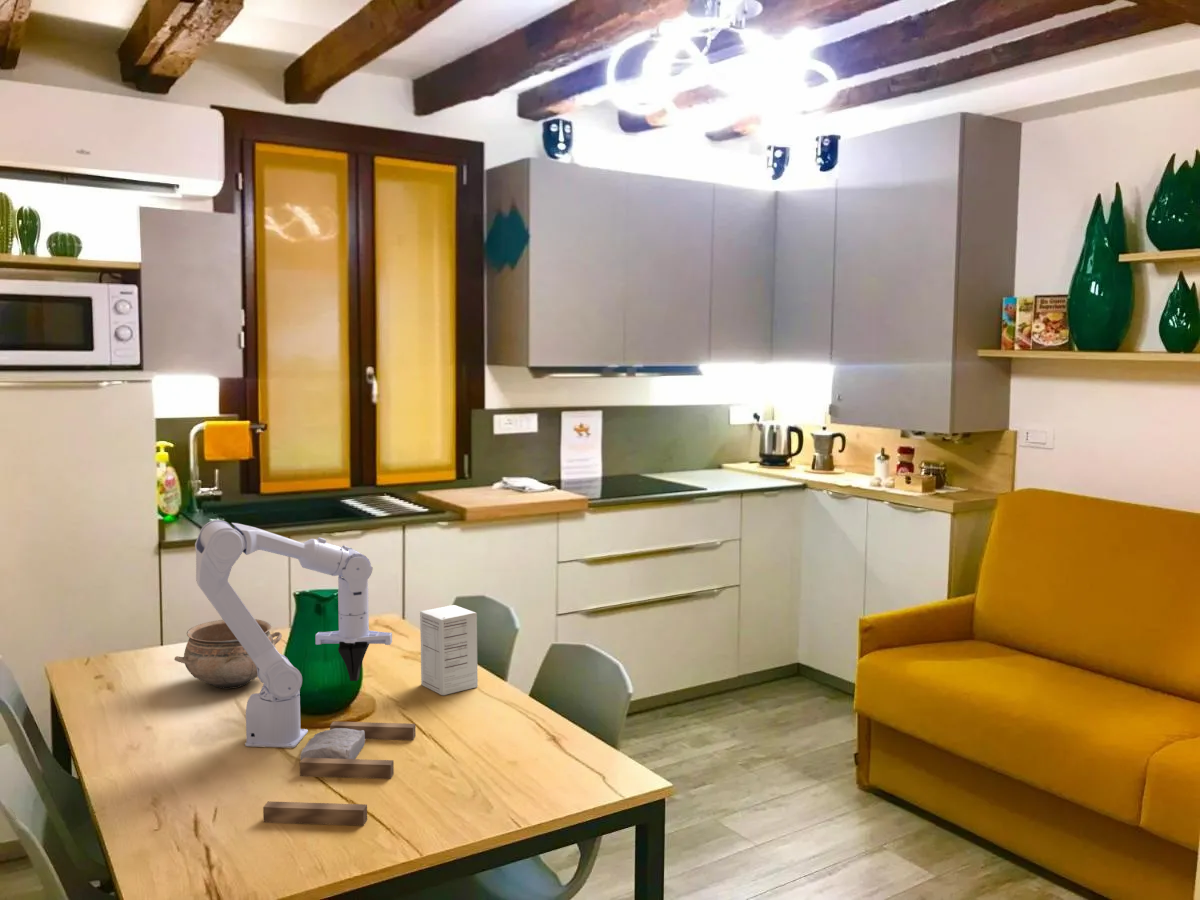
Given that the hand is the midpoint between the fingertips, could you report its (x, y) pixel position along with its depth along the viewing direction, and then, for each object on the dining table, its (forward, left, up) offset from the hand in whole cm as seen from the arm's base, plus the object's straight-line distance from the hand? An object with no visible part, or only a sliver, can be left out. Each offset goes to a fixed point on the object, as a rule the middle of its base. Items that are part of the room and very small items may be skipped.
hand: (354, 679), depth 200 cm
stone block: (0, -15, -10) cm, 18 cm away
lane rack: (+5, -23, -9) cm, 25 cm away
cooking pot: (-34, +22, -10) cm, 42 cm away
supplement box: (+14, +24, -10) cm, 29 cm away
